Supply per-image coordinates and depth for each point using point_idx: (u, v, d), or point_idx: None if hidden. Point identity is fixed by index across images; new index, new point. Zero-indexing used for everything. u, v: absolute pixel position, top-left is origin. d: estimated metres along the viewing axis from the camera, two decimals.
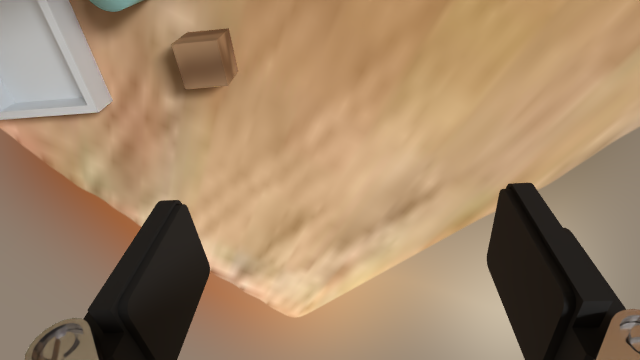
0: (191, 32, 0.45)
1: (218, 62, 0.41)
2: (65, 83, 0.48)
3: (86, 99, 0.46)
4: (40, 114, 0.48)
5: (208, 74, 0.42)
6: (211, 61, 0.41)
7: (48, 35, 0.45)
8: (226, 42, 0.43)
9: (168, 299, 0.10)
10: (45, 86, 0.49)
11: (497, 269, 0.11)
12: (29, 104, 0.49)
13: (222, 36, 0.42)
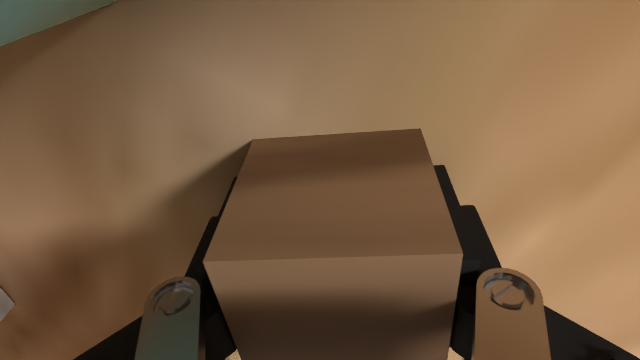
0: (271, 141, 0.11)
1: (430, 329, 0.08)
2: None
3: None
4: None
5: None
6: (400, 325, 0.08)
7: None
8: None
9: None
10: None
11: None
12: None
13: (440, 192, 0.09)
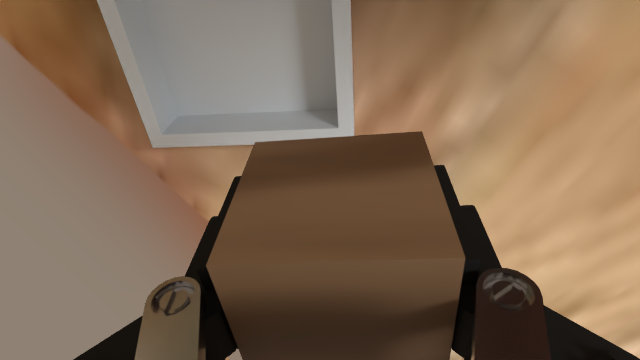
0: (272, 144, 0.11)
1: (432, 332, 0.08)
2: (284, 83, 0.26)
3: (341, 117, 0.24)
4: (240, 141, 0.26)
5: None
6: (402, 328, 0.08)
7: None
8: None
9: None
10: (243, 88, 0.27)
11: None
12: (210, 120, 0.27)
13: (441, 195, 0.09)
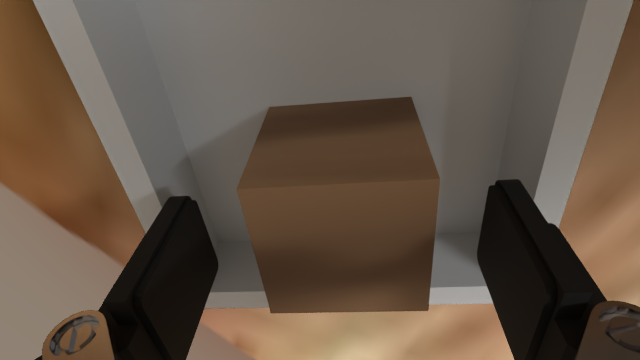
0: (284, 108, 0.13)
1: (416, 249, 0.10)
2: None
3: None
4: None
5: (364, 280, 0.11)
6: (392, 246, 0.10)
7: (427, 56, 0.12)
8: None
9: (180, 293, 0.10)
10: None
11: (486, 264, 0.11)
12: None
13: (425, 141, 0.11)
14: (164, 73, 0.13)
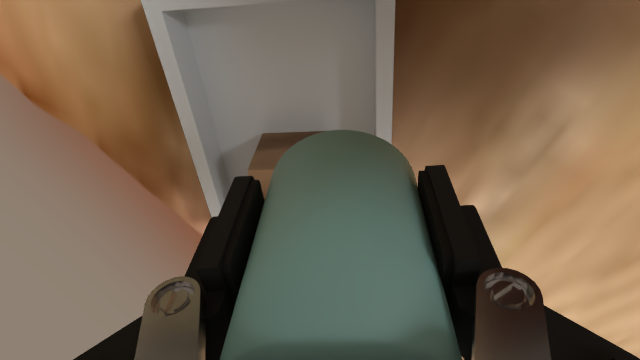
0: (269, 134, 0.29)
1: None
2: None
3: None
4: None
5: None
6: None
7: (333, 114, 0.28)
8: None
9: None
10: None
11: None
12: None
13: None
14: (214, 116, 0.29)
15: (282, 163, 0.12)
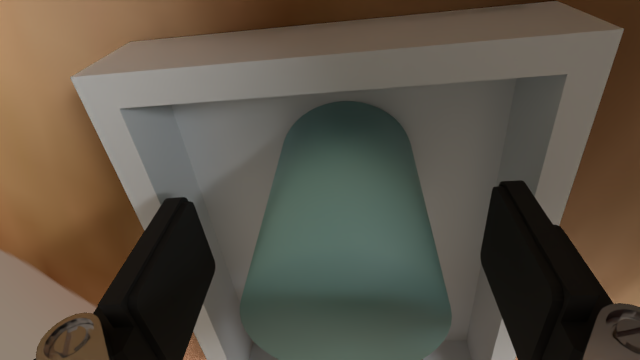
0: None
1: None
2: None
3: None
4: None
5: None
6: None
7: None
8: None
9: (176, 295, 0.10)
10: None
11: (490, 266, 0.11)
12: None
13: None
14: (221, 241, 0.18)
15: (294, 129, 0.13)
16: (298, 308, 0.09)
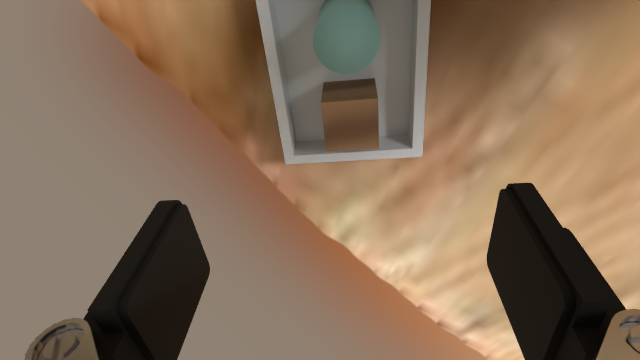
0: (329, 82, 0.38)
1: (373, 123, 0.34)
2: None
3: (415, 141, 0.38)
4: (346, 158, 0.39)
5: (357, 136, 0.35)
6: (366, 122, 0.34)
7: (379, 64, 0.36)
8: None
9: (168, 299, 0.10)
10: None
11: (497, 269, 0.11)
12: (322, 144, 0.41)
13: (376, 90, 0.35)
14: (286, 69, 0.37)
15: (325, 0, 0.33)
16: (332, 34, 0.28)
